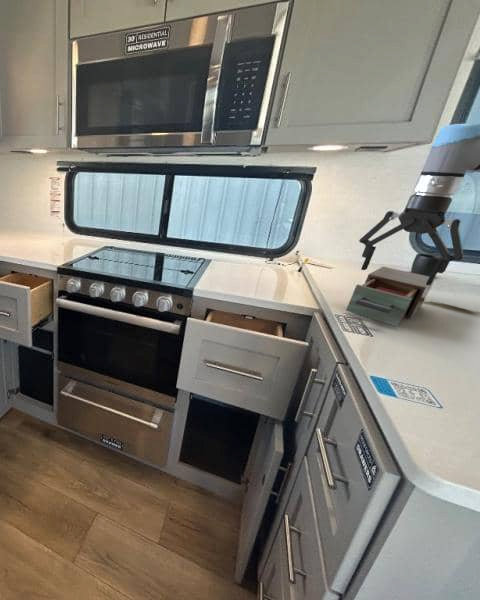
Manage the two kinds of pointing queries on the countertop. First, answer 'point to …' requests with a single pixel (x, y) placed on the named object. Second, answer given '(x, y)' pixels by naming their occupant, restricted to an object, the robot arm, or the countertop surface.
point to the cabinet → (407, 280)
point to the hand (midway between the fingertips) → (394, 276)
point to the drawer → (381, 301)
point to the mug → (424, 264)
